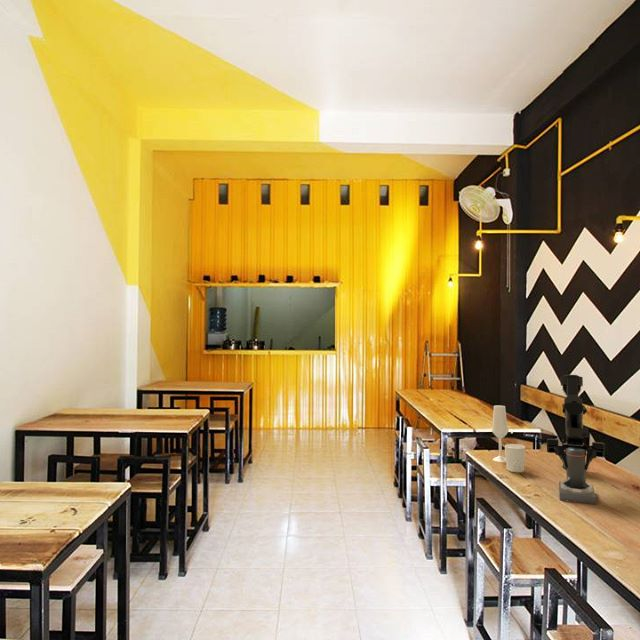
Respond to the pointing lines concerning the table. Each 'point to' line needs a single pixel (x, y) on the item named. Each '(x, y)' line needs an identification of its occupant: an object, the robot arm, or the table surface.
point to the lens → (576, 468)
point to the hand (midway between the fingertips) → (576, 468)
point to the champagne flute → (499, 428)
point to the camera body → (577, 493)
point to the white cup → (515, 457)
